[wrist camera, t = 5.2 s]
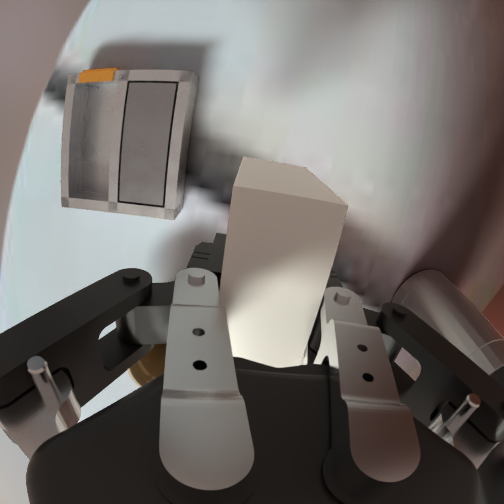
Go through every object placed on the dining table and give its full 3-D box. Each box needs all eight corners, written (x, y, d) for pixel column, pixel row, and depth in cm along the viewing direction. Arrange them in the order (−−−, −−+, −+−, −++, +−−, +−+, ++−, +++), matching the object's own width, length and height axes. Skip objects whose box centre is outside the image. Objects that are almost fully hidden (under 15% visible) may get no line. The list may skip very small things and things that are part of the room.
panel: (305, 167, 14) (348, 205, 8) (275, 307, 17) (284, 404, 11) (243, 156, 14) (233, 185, 7) (223, 300, 17) (208, 396, 11)
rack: (199, 73, 24) (192, 67, 20) (182, 209, 29) (173, 220, 26) (87, 74, 23) (68, 71, 19) (78, 197, 28) (60, 207, 25)
